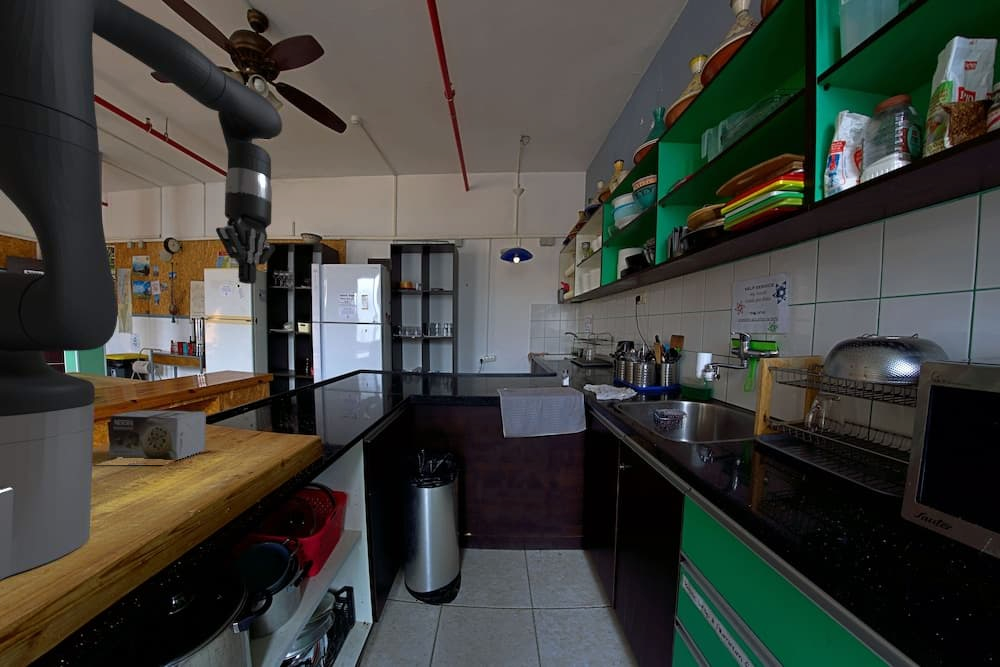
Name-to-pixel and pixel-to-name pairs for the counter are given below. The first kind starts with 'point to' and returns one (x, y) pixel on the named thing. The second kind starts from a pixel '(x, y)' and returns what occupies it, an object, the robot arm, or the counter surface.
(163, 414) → the coffee box
